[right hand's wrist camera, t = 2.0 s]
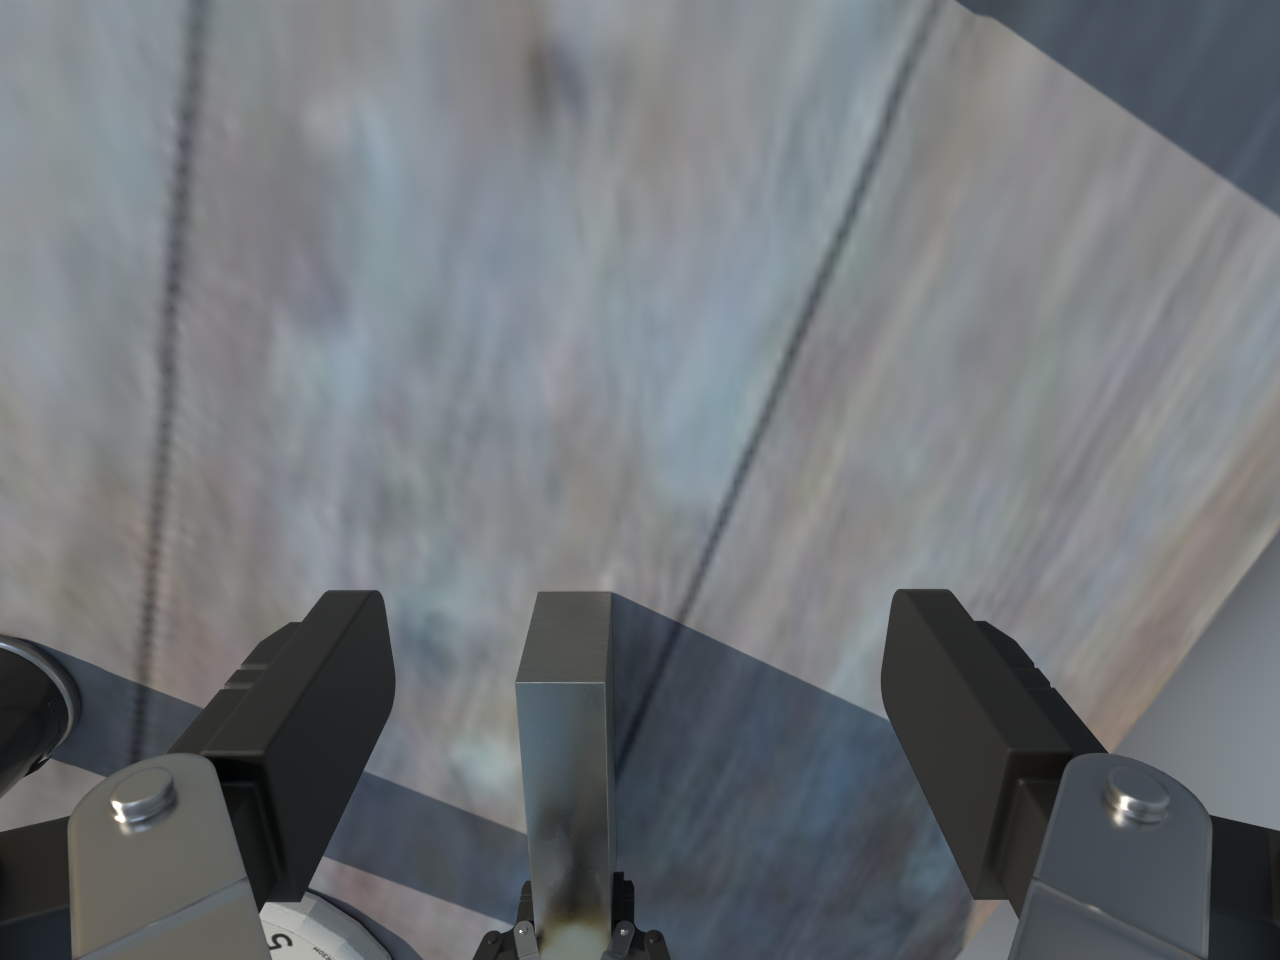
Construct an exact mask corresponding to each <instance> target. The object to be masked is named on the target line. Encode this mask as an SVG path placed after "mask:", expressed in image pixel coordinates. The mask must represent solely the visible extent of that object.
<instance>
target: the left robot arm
mask: <svg viewBox="0 0 1280 960" xmlns="http://www.w3.org/2000/svg"><path fill="white" fill-rule="evenodd" d="M80 712H81V705H80V699H79V695H78V692H77V689H76V687H75V685H74V683H73V682H72V680H71V678H70V677H69V676H68V674H67V673H66V672H65V670H64V669H63V668H62V667H61V666H60V665H59V664H58V663H57V662H56V661H55V660H53V659H52V658H51V657H50V656H48V655H47V654H46V653H44V652H43V651H41V650H40V649H38V648H36V647H34V646H32V645H31V644H28V643H26V642H24V641H22V640H19V639H16V638H13V637H9V636H5V635H1V634H0V799H1V798H2V797H3V796H4V795H5V794H6V793H7V792H8V791H9V790H10V789H11V788H12V787H13V786H14V785H15V784H16V783H18V782H19V781H20V780H21V779H22V778H23V777H25V776H27V775H29V774H31V773H33V772H34V771H36V770H38V769H39V768H40V767H41V766H43V765H44V764H45V763H46V762H47V761H48V760H49V759H50V758H51V757H52V756H53V755H52V756H51V757H49V758H47V759H45V760H43V761H41V762H40V763H38V762H39V761H40V760H41V759H43V758H44V757H45V756H46V755H47V754H49V753H50V752H51V751H52V750H53V749H55V748H56V747H57V746H58V745H59V744H61V743H62V742H63V741H64V740H65V739H66V738H67V737H68V736H69V735H70V734H71V733H72V732H73V730H74V729H75V727H76V726H77V724H78V721H79V718H80ZM37 763H38V764H37ZM473 960H541V957H540V952H539V951H538V947H537V942H536V937H535V925H534V913H533V900H532V888H531V881H526V882H525V884H524V886H523V887H522V892H521V898H520V904H519V910H518V916H517V922H516V924H515V926H514V927H513V928H512V929H511V930H509V931H507V932H505V933H502V934H501V933H500V932H498V931H490V932H488V933H487V934H485V936H484V937H483V939H482V941H481V943H480V945H479V947H478V949H477V952H476V954H475V956H474V958H473ZM600 960H671V959H670V956H669V953H668V950H667V947H666V943H665V940H664V937H663V935H662V933H661V932H659V931H657V930H650V931H648V932H647V933H645V932H642V931H640V930H639V929H637V927H636V926H635V924H634V886H633V883H632V881H624V872H614V883H613V909H612V937H611V940H610V942H609V945H608V947H607V950H606V951H604V952H603V954H602V956H601V959H600Z"/></svg>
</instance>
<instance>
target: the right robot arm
mask: <svg viewBox="0 0 1280 960" xmlns="http://www.w3.org/2000/svg"><path fill="white" fill-rule="evenodd" d="M881 691H882V698H883V703H884V707H885V710H886V713H887V715H888V717H889V720H890V722H891V724H892V726H893V728H894V730H895V732H896V734H897V737H898V739H899V741H900V743H901V745H902V747H903V749H904V751H905V754H906V756H907V758H908V760H909V762H910V764H911V766H912V768H913V771H914V773H915V775H916V777H917V779H918V781H919V783H920V786H921V788H922V790H923V792H924V794H925V796H926V798H927V800H928V803H929V805H930V807H931V809H932V811H933V813H934V815H935V817H936V820H937V822H938V824H939V826H940V828H941V830H942V832H943V835H944V837H945V839H946V841H947V843H948V845H949V847H950V849H951V852H952V854H953V856H954V858H955V860H956V862H957V864H958V866H959V869H960V871H961V873H962V875H963V877H964V879H965V881H966V884H967V886H968V888H969V890H970V892H971V894H972V896H973V898H974V900H1009V901H1010V903H1011V905H1012V907H1013V909H1014V911H1015V913H1016V915H1017V917H1018V919H1019V923H1018V926H1017V930H1016V933H1015V936H1014V940H1013V943H1012V946H1011V950H1010V953H1009V957H1008V960H1280V831H1277V830H1273V829H1269V828H1264V827H1260V826H1256V825H1251V824H1247V823H1243V822H1238V821H1234V820H1229V819H1225V818H1221V817H1216V816H1212V815H1209V814H1208V812H1207V810H1206V809H1205V807H1204V806H1203V804H1202V803H1201V802H1200V801H1199V799H1198V798H1197V797H1196V796H1195V795H1194V794H1193V793H1192V792H1191V791H1190V790H1189V789H1187V788H1186V787H1185V786H1184V785H1182V784H1181V783H1180V782H1178V781H1177V780H1176V779H1174V778H1172V777H1171V776H1169V775H1168V774H1166V773H1164V772H1162V771H1160V770H1158V769H1157V768H1155V767H1153V766H1150V765H1148V764H1146V763H1143V762H1141V761H1138V760H1135V759H1132V758H1129V757H1124V756H1120V755H1115V754H1109V753H1108V752H1107V751H1106V749H1105V748H1104V747H1103V746H1102V745H1101V743H1100V742H1099V741H1098V740H1097V739H1096V737H1095V736H1094V735H1093V734H1092V733H1091V731H1090V730H1089V729H1088V728H1087V727H1086V725H1085V724H1084V723H1083V722H1082V721H1081V719H1080V718H1079V717H1078V716H1077V714H1076V713H1075V712H1074V711H1073V710H1072V708H1071V707H1070V706H1069V705H1068V704H1067V702H1066V701H1065V700H1064V699H1063V698H1062V696H1061V695H1060V694H1059V693H1058V692H1057V690H1056V689H1055V688H1051V687H1050V682H1049V681H1048V680H1047V678H1046V677H1045V676H1044V675H1043V673H1042V672H1041V671H1040V670H1039V669H1038V668H1035V667H1034V663H1033V661H1032V660H1031V659H1030V658H1029V657H1028V655H1027V654H1026V653H1025V652H1024V651H1023V649H1022V648H1021V647H1020V646H1019V645H1018V643H1017V642H1016V641H1015V640H1014V639H1012V638H1011V637H1009V636H1007V635H1006V634H1004V633H1003V632H1001V631H1000V630H998V629H997V628H995V627H994V626H992V625H991V624H989V623H988V622H986V621H974V620H973V619H972V618H971V616H970V615H969V614H968V613H967V611H966V610H965V609H964V607H963V606H962V605H961V603H960V602H959V601H958V600H957V598H956V597H955V596H954V594H953V593H952V592H951V591H950V590H948V589H898V590H897V591H896V592H895V594H894V596H893V599H892V603H891V610H890V616H889V623H888V630H887V636H886V643H885V650H884V657H883V663H882V670H881ZM394 695H395V669H394V663H393V656H392V649H391V643H390V636H389V630H388V623H387V616H386V610H385V604H384V600H383V597H382V595H381V593H380V592H379V591H377V590H329V591H327V592H325V593H324V594H323V595H322V597H321V598H320V599H319V600H318V602H317V603H316V604H315V606H314V607H313V608H312V609H311V611H310V612H309V613H308V615H307V616H306V617H305V618H304V620H303V621H302V622H290V623H288V624H287V625H285V626H284V627H282V628H281V629H279V630H278V631H276V632H275V633H273V634H272V635H270V636H269V637H267V638H266V639H264V640H263V641H261V642H260V643H259V644H258V645H257V646H256V648H255V649H254V650H253V651H252V652H251V654H250V655H249V656H248V657H247V658H246V660H245V661H244V662H243V663H242V664H241V669H240V670H236V672H235V673H234V674H233V675H232V676H231V677H230V679H229V680H228V681H227V682H226V683H225V688H224V689H220V691H219V692H218V693H217V694H216V695H215V697H214V698H213V699H212V700H211V701H210V703H209V704H208V705H207V706H206V707H205V709H204V710H203V711H202V712H201V713H200V715H199V716H198V717H197V718H196V719H195V721H194V722H193V723H192V724H191V725H190V726H189V728H188V729H187V730H186V731H185V732H184V734H183V735H182V736H181V737H180V738H179V740H178V741H177V742H176V743H175V744H174V746H173V747H172V748H171V749H170V750H169V752H168V753H167V754H165V755H160V756H156V757H151V758H148V759H145V760H142V761H139V762H137V763H134V764H132V765H130V766H127V767H125V768H123V769H121V770H119V771H118V772H116V773H114V774H112V775H111V776H109V777H108V778H106V779H104V780H103V781H102V782H100V783H99V784H98V785H96V786H95V787H94V788H93V789H91V790H90V791H89V792H88V793H87V794H86V795H85V796H84V797H83V798H82V799H81V801H80V802H79V803H78V804H77V805H76V807H75V809H74V810H73V812H72V814H71V816H67V817H64V818H60V819H55V820H51V821H47V822H42V823H38V824H34V825H29V826H25V827H21V828H16V829H12V830H8V831H3V832H0V960H272V957H271V953H270V950H269V946H268V943H267V940H266V936H265V933H264V929H263V926H262V923H261V919H260V916H259V914H260V912H261V910H262V908H263V906H264V905H265V903H266V902H301V900H302V898H303V896H304V894H305V892H306V890H307V888H308V886H309V883H310V881H311V879H312V877H313V875H314V873H315V871H316V869H317V867H318V865H319V862H320V860H321V858H322V856H323V854H324V852H325V850H326V848H327V846H328V844H329V841H330V839H331V837H332V835H333V833H334V831H335V829H336V827H337V825H338V822H339V820H340V818H341V816H342V814H343V812H344V810H345V808H346V806H347V804H348V801H349V799H350V797H351V795H352V793H353V791H354V789H355V787H356V785H357V782H358V780H359V778H360V776H361V774H362V772H363V770H364V768H365V766H366V764H367V761H368V759H369V757H370V755H371V753H372V751H373V749H374V747H375V745H376V743H377V740H378V738H379V736H380V734H381V732H382V730H383V728H384V726H385V724H386V721H387V719H388V717H389V715H390V713H391V709H392V706H393V701H394Z"/></svg>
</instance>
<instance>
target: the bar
mask: <svg viewBox="0 0 1280 960" xmlns="http://www.w3.org/2000/svg"><path fill="white" fill-rule="evenodd" d="M515 687H516V700H517V712H518V725H519V738H520V750H521V763H522V775H523V788H524V800H525V813H526V825H527V838H528V850H529V863H530V875H531V888H532V900H533V913H534V925H535V937H536V942H537V947H538V951H539V952H540V957H541V960H600V959H601V956H602V954H603V952H604V951H606V950H607V947H608V945H609V942H610V940H611V937H612V909H613V883H614V872H616V865H617V844H616V790H615V737H614V683H613V630H612V592H538V594H537V598H536V602H535V606H534V610H533V614H532V618H531V622H530V626H529V630H528V634H527V638H526V642H525V646H524V650H523V654H522V658H521V662H520V666H519V670H518V674H517V678H516V682H515Z"/></svg>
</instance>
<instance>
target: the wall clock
mask: <svg viewBox="0 0 1280 960" xmlns="http://www.w3.org/2000/svg"><path fill="white" fill-rule="evenodd" d="M259 916H260V919H261V923H262V926H263V929H264V933H265V936H266V940H267V943H268V946H269V950H270V953H271V957H272V960H392V959H391V957H390V955H389V953H388V952H387V951H386V950H385V949H384V948H383V947H382V946H381V945H380V944H379V943H378V942H377V941H376V940H375V939H374V937H373V936H372V935H371V934H370V933H369V932H368V931H367V930H366V929H365V928H364V927H363V926H362V925H361V924H360V923H359V922H357V921H356V920H354V919H353V918H351V917H350V916H348V915H347V914H345V913H344V912H342V911H340V910H339V909H337V908H336V907H334V906H333V905H331V904H330V903H328V902H327V901H325V900H324V899H322V898H320V897H319V896H316V895H314V894H312V893H309V892H307V891H306V892H305V894H304V896H303V898H302V900H301V902H266V903H265V905H264V906H263V908H262V910H261V912H260V914H259Z"/></svg>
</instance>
